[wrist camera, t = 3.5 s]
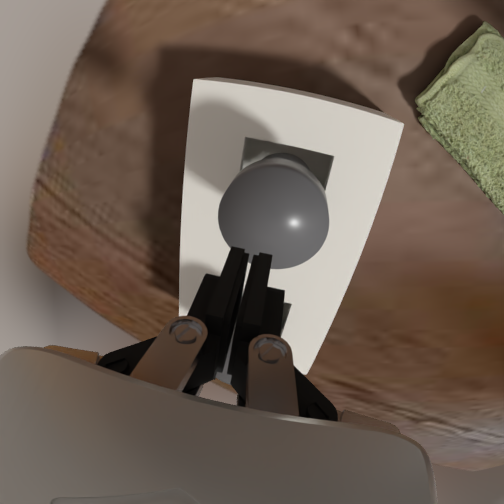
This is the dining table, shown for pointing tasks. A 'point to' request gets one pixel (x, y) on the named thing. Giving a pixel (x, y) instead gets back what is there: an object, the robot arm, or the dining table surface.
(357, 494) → the robot arm
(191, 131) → the box
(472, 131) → the washcloth
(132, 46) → the dining table surface
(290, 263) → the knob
